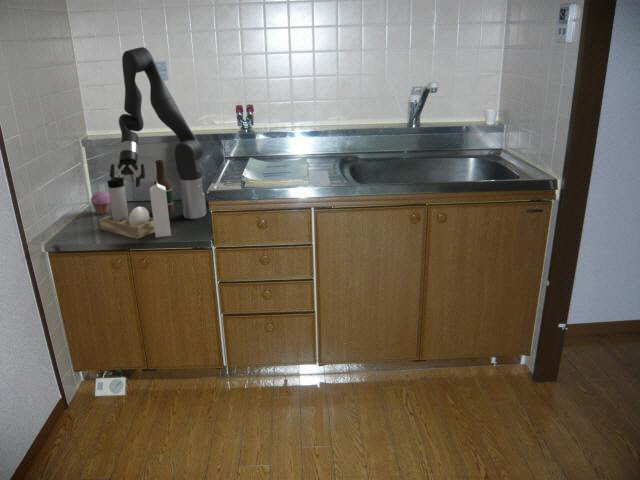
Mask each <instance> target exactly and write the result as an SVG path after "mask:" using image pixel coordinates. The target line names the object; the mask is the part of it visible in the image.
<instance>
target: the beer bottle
mask: <svg viewBox="0 0 640 480" xmlns="http://www.w3.org/2000/svg"><path fill="white" fill-rule="evenodd" d="M164 163H165V160H163V159H157V160H155V166H156V168H155V169H156V179H155V180H154V183H153V186H154V185H155V184H157V183H158V184H160V185H162V186H165V188H166V197H167V205H168V214H169V215H171V214H173V213H175V204H174V194H173V188H172V184H171V181H170V180H169V179H168V177H167V174H166V170H165V164H164Z"/></svg>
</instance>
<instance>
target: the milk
mask: <svg viewBox="0 0 640 480" xmlns="http://www.w3.org/2000/svg"><path fill="white" fill-rule="evenodd" d="M149 196H150V202H151V211H152V218H153V221H154V229H155V232H154V234H155V235H154V237H155V238H162V237H171V236H172V233H171V232H172V231H171V226H170V225H171V224H170V217H169V215H170V214H168V205H167V197H166V188H165V186H162V185H160V184H158V183H157V184H155V185H154V184H153V185H152V186H151V187H149Z"/></svg>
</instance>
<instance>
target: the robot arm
mask: <svg viewBox="0 0 640 480" xmlns="http://www.w3.org/2000/svg"><path fill="white" fill-rule="evenodd" d="M121 61H122V64H121V65H122V73H123V74H122V75H123V83H124V102H123V103H124V105H123V106H124V107H123V110H124V111H125V112H126V113H127V114H126V113H123V114H121V115H120V116H119V117H118V125H119V129H120V132H121V141H120V143H121V144H120V149H119V159H118V160H119V161H118V164H116V165H115V164H114V163H112V164H111V165H110V170H109V178H110V179H114V178H122V177H123V176H132V175H133V176H134V177H135V186H136V188H139V187H140V185H141V180H142V179H143V180H144V179H145V178H146V168H145V165H144V163H141V164H140V165H138V160H139V135H138V134H137V133H136V132H141V131H142V130H143V129H144V124H145V123H144V119H143V118H144V117H143V115H142V100H143V97H142V92H141V90H140V88H139V87H138V85H137V83H136V76H137V73H141V72H144V73H145V75H146V77H147V79H148V81H149V86H150V89H149V91H150V92H149V93H150V95H149V96H150V97H149V99H150V104H151V107H152V109H153V111H154V112H155V114H156V115H157V117H158V119H159V120H160V121H161V122H162V123H163V124H164V125H165V126H166V127H168V129H170V130H171V131H172V132H173V133H174V134H175V136H176V138H177V139H178V141H179V143H178V144H176V146H175V148H174V160H175V164H176V172H177V173H178V175H179V182H180V192H181V202H182V210H183V212H182V213H183V218H185V219H190V220H192V219H193V220H195V219H196V220H197V219H201V218H203V217H205V216H206V214H207V205H206V203H207V201H206V195H205V194H206V193H204V187H203V178H202V171H201V170H200V169H197V165H196V161H198V160H200V159H201V158H202V157H203V153H204V152H203V150H204V149H203V147H202V145H201V143H200V141H199V140H198V139H197V137H196V136H195V134H194V132H193V131H192V130H191V128H190V126H189V125H188V123H187V121H186V119H185V118H184V116H183V115H182V112H181V111H180V109H179V107H178V105H177V103H176V102H175V100H174V98H173V96H172V94H171V92H170V91H169V89H168V87H167V85H166V84H165V81H164V79H163V77H162V76H161V74H160V71H159V68H158V66H157V64H156V62H155V59H154V57H153V55H152V54H151V52H150V51H149V50H148V49H147V47H143V46H142V47H137V48H133V49H128V50H125V51H124V52H123V54H122V56H121ZM137 170H139V171H140V174H139V173H138V171H137ZM115 172H116V173H115Z"/></svg>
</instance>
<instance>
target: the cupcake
mask: <svg viewBox="0 0 640 480" xmlns="http://www.w3.org/2000/svg"><path fill="white" fill-rule="evenodd" d="M90 203H91V205H93V207H94V209H95V213H96V214H97V215H106V214H108V213H109V211H110V205H111V203H110V197H109V192H107V191H96V192H94V193H93V194H92V196H91V198H90Z"/></svg>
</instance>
